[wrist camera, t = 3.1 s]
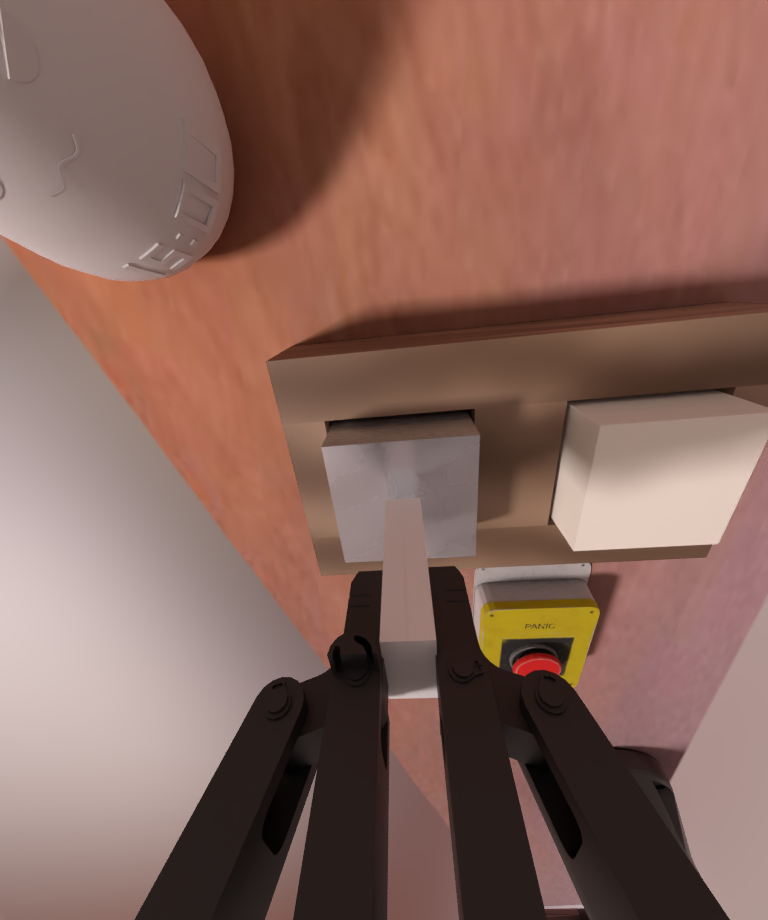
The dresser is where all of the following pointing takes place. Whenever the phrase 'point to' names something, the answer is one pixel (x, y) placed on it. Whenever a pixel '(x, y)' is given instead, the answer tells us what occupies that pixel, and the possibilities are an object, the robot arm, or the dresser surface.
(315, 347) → the brown wooden flat block
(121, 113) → the toy character
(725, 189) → the dresser surface
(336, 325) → the dresser surface
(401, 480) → the steel key
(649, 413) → the cream key
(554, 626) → the emergency button
